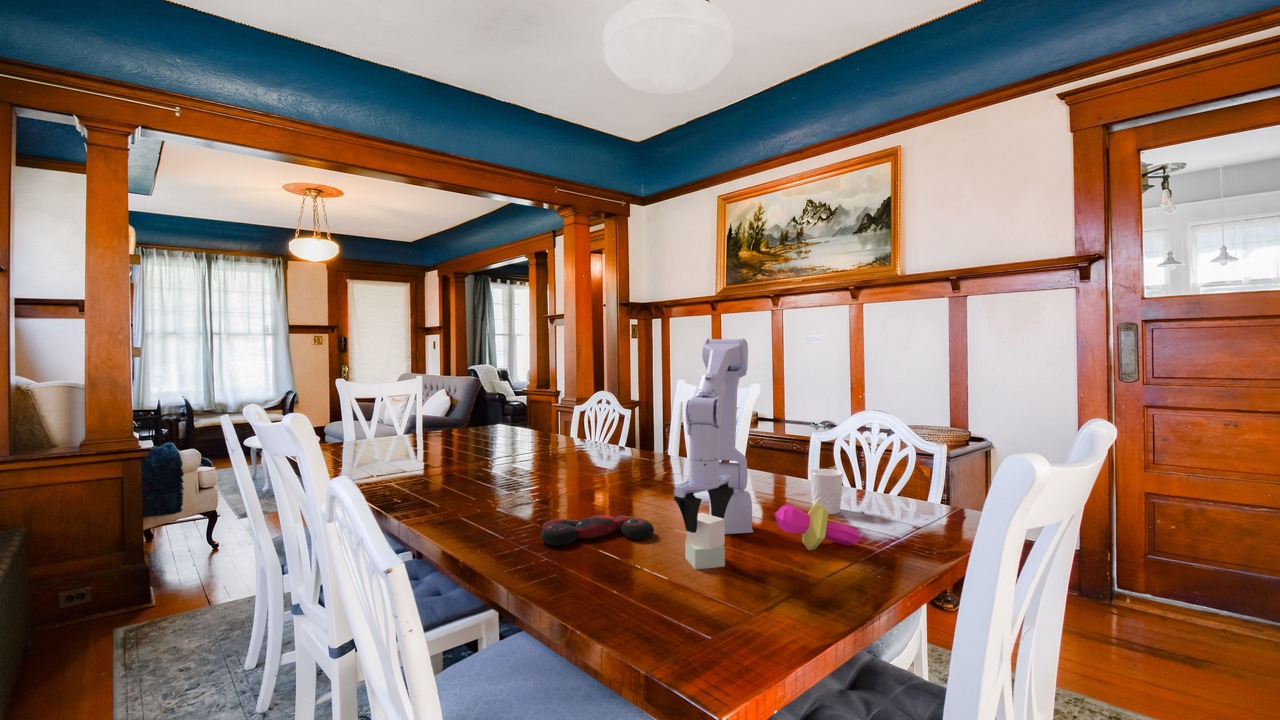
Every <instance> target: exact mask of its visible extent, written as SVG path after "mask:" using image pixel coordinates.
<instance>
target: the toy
mask: <svg viewBox="0 0 1280 720" xmlns="http://www.w3.org/2000/svg"><path fill="white" fill-rule="evenodd" d="M829 515H830V514H829V512H828V511H827V510H826V509H825V508H824V507H823V506H822V505H820V504H819V503H818V502H816V503H815V504H814V506H813V505H812V507H811V508H810V509H809V510H808V513H807V512H805V511H803V510H802V509H800V508H798V507H796V506H794V505H792V504H791V503H789V504H783V505H782V506H780V507H779V509H778V510H777V511H776V512H775V513H774V517H775V520H776V523H777V526H778V527H779V528H780V529H781V530H782V531H783V532H784V533H790V534H791V533H792V534H793V533H794V534H802V536H801V537H802V539H801V542H802V544H804V546H805V548H806V549H807V550H808V551H815V550H817V548H819V547H818V546H820V544H822V542H823V540H824V539H825V540H827V541H829V542H831V543H835V544H840V545H845V546H851V545H856V544H857V543H858V542H860V541H861V539H862V538H863V537H862V536H861V533H860V532H859V530H858V529H856V528H854V527H851V526H850V525H846V524H842V523H841V524H840V523H836V522H830V521H828V519H829Z"/></svg>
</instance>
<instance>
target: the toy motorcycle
mask: <svg viewBox="0 0 1280 720" xmlns="http://www.w3.org/2000/svg"><path fill="white" fill-rule="evenodd" d="M542 527H543V529H542V531H541V534H540V537H541V540H542V541H543V542H544V543H545V544H547V545H550V546H555V547H556V546H558V547H559V546H561V547H562V546H565V545H569V544H571V543H573V542H575V540H576V539H594V538H601V537H604V536H608V535H610V534H613V533H615V532H616V531H620V530H621V532H622V534H623V535H624V536H625V537H627V538H629V539H631V540H640V541H641V540H645V539H648V538H650V537H651V536H652V535H653V534H654V532H655V529H654V526H653V524H652V523H651V522H649V521H648V520H646V519H643V518H636V517H633V516H628V515H623V514H615V516H611V515H607V514H598V515H597V514H596V515H593V516H590V517H586V518H582V519H580V520H577V519H575V520H574V519H564V518H563V519H562V518H561V519H560V518H556V519H555V518H554V519H551V520H547V521H545V522H544V523H543V525H542Z"/></svg>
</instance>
